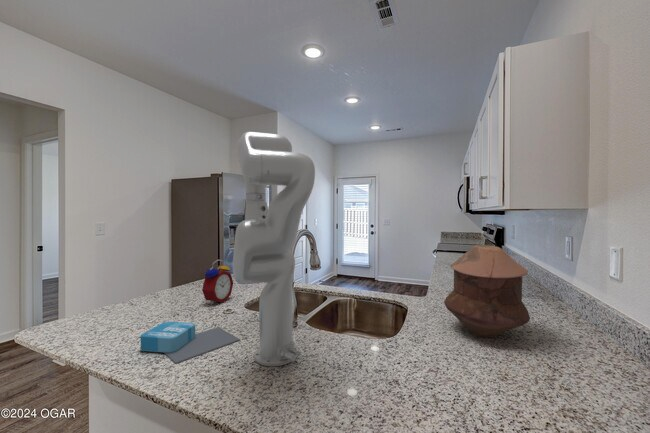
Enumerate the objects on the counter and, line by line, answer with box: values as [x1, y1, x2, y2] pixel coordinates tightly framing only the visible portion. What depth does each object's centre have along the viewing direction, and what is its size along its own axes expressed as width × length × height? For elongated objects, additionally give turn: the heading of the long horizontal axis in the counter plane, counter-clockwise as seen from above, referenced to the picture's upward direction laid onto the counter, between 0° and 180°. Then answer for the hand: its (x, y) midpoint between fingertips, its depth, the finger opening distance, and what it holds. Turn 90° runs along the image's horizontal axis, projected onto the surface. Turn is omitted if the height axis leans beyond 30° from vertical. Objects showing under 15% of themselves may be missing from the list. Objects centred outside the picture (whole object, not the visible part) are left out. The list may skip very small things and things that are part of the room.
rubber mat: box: [163, 326, 241, 365], centre depth 94 cm, size 15×20×1 cm
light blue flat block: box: [140, 321, 196, 354], centre depth 93 cm, size 12×4×12 cm
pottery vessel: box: [443, 244, 531, 338], centre depth 101 cm, size 26×26×30 cm
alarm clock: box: [201, 259, 234, 306], centre depth 137 cm, size 15×9×20 cm, turn 162°
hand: (256, 245), depth 113 cm, fingers closed
